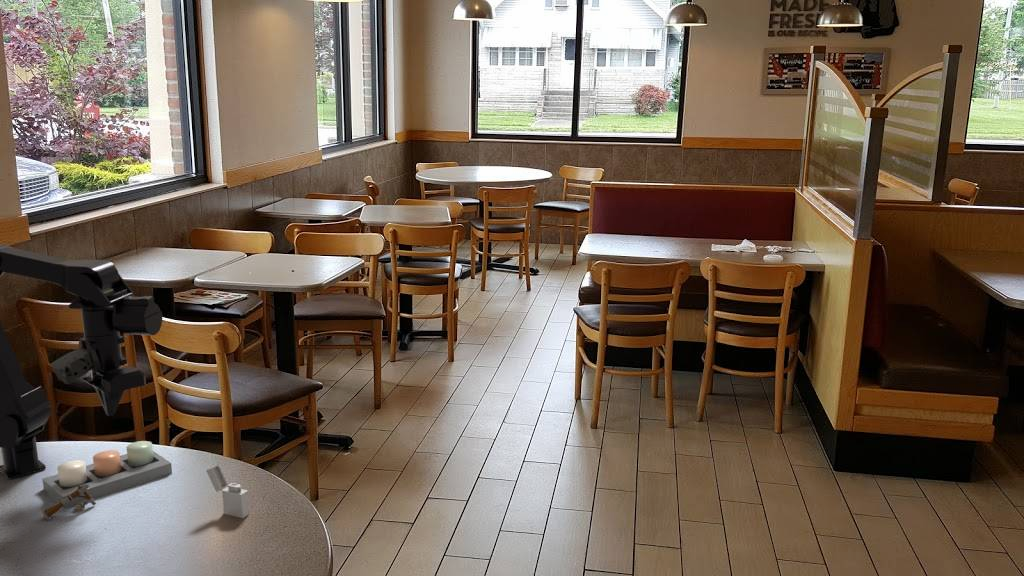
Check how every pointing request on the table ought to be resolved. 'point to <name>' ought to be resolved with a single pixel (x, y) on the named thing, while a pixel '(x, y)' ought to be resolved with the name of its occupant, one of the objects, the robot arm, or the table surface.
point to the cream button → (72, 473)
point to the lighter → (229, 493)
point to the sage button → (140, 453)
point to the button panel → (110, 479)
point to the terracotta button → (107, 463)
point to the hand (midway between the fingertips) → (110, 415)
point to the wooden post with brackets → (68, 499)
